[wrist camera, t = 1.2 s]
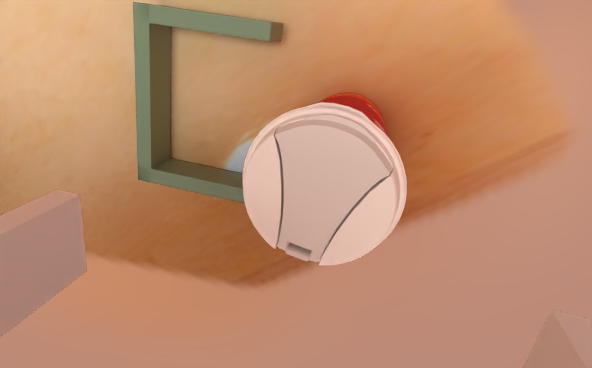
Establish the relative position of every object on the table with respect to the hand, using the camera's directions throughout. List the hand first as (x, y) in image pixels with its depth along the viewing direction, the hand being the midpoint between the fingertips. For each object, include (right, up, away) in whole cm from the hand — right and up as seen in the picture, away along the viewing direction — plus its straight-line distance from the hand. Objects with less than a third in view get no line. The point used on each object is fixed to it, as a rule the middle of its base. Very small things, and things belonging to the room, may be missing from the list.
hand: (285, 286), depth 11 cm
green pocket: (-6, +9, +20) cm, 23 cm away
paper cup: (+4, +7, +19) cm, 21 cm away
